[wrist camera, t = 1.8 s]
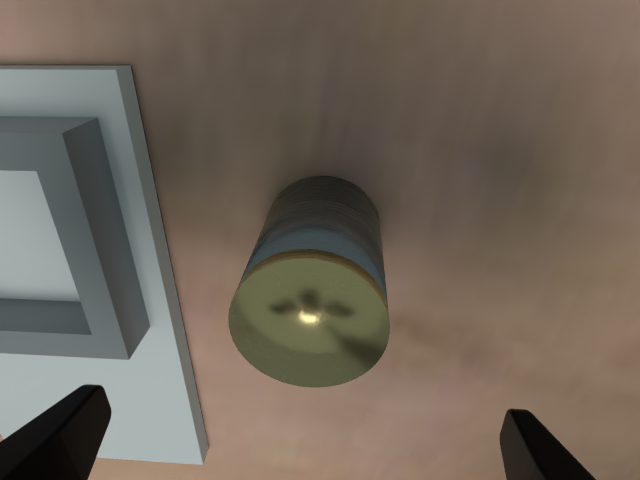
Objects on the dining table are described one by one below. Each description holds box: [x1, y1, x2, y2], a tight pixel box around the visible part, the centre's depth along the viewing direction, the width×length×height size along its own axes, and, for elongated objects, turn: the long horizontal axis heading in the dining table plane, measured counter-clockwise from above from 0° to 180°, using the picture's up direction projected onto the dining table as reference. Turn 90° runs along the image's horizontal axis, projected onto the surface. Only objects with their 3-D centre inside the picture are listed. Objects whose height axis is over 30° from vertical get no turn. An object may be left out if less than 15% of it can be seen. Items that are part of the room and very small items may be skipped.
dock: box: [0, 65, 209, 465], centre depth 18 cm, size 11×20×3 cm, turn 1°
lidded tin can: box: [229, 176, 390, 387], centre depth 14 cm, size 4×4×6 cm
